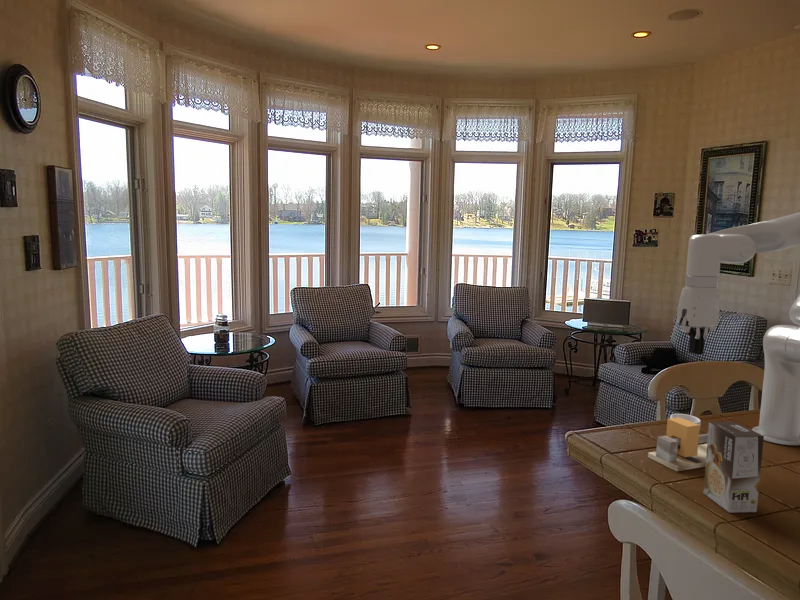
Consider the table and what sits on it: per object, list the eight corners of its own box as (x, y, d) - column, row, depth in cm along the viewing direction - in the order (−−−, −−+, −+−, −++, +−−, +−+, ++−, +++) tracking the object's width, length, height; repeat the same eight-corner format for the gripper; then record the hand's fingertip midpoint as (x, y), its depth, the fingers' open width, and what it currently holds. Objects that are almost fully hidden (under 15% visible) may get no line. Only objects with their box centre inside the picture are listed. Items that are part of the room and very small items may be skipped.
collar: (677, 446, 144) (679, 417, 143) (697, 455, 139) (699, 425, 138) (665, 448, 143) (667, 418, 142) (684, 457, 137) (687, 426, 136)
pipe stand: (707, 447, 150) (709, 425, 149) (738, 460, 142) (740, 436, 141) (647, 457, 143) (649, 433, 142) (676, 471, 135) (678, 446, 134)
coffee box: (758, 512, 115) (766, 436, 113) (728, 513, 115) (736, 436, 113) (729, 492, 124) (735, 420, 122) (701, 492, 124) (707, 421, 122)
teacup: (667, 430, 163) (669, 412, 162) (697, 434, 160) (699, 416, 160) (669, 442, 154) (670, 422, 153) (701, 446, 151) (703, 427, 150)
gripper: (710, 281, 152) (704, 348, 154) (667, 281, 147) (662, 352, 149) (736, 283, 145) (729, 354, 147) (691, 284, 140) (685, 358, 142)
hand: (695, 353), depth 148 cm, fingers closed
